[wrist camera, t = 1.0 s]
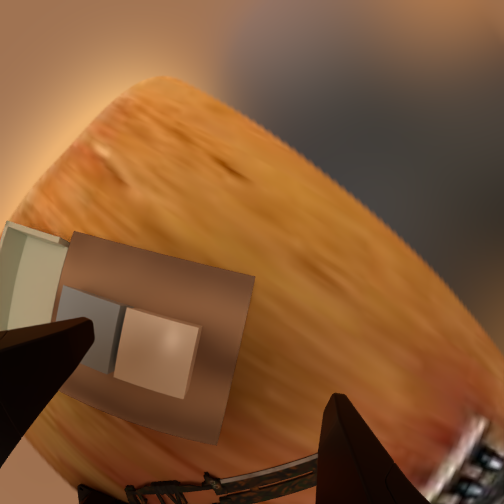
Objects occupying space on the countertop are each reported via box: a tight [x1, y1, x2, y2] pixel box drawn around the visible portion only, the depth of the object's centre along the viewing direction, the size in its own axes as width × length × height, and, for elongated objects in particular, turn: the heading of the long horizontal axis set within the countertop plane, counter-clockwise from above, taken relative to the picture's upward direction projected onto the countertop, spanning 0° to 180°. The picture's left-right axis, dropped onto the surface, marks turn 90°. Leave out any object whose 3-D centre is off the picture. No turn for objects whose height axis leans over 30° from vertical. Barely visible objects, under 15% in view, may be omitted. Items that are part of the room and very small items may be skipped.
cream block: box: [114, 307, 203, 399], centre depth 18 cm, size 5×5×3 cm
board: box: [51, 231, 255, 446], centre depth 21 cm, size 14×16×3 cm
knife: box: [125, 454, 318, 504], centre depth 19 cm, size 25×6×1 cm, turn 100°
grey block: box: [56, 285, 134, 374], centre depth 18 cm, size 5×5×3 cm
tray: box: [0, 221, 70, 331], centre depth 20 cm, size 13×8×4 cm, turn 167°
